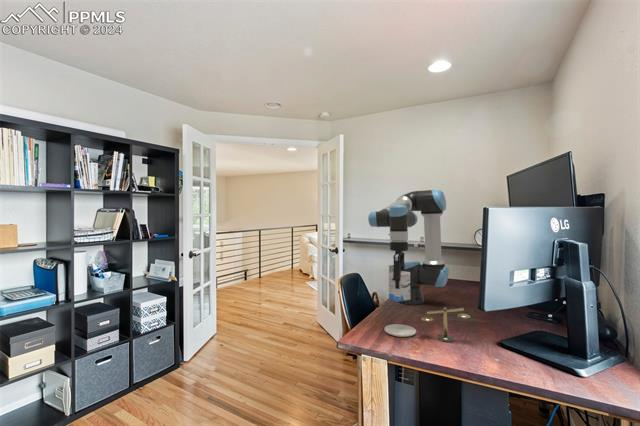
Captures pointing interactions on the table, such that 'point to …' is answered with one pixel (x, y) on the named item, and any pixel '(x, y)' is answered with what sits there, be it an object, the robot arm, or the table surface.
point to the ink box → (404, 286)
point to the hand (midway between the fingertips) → (399, 293)
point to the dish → (400, 330)
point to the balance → (445, 322)
